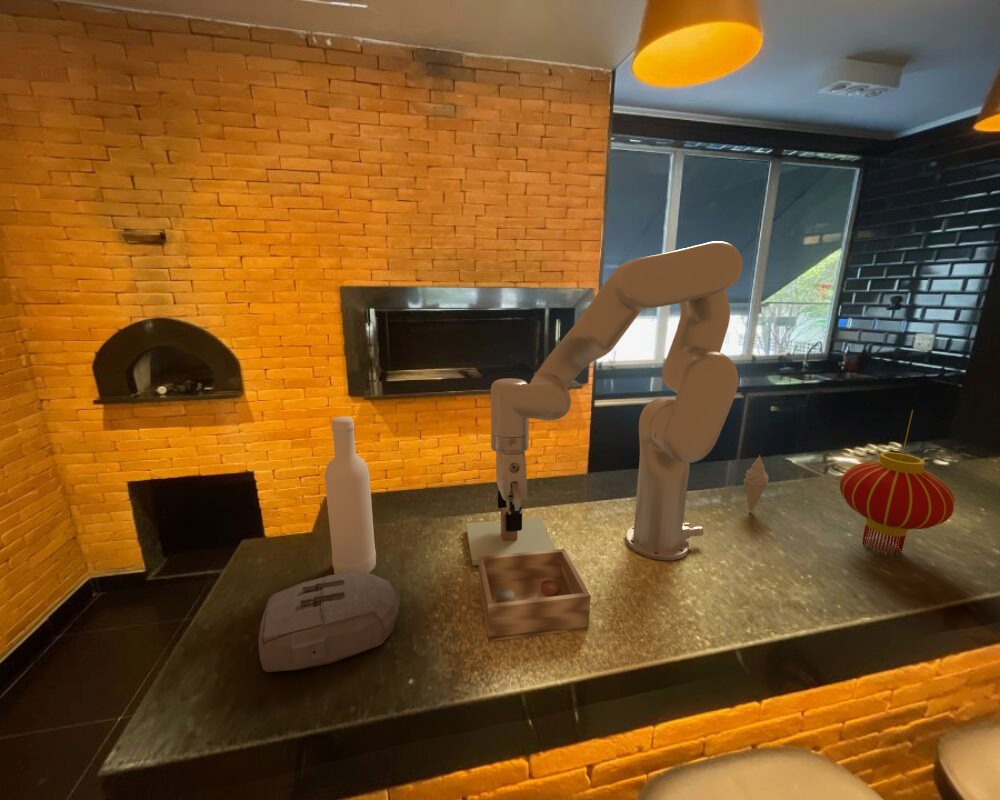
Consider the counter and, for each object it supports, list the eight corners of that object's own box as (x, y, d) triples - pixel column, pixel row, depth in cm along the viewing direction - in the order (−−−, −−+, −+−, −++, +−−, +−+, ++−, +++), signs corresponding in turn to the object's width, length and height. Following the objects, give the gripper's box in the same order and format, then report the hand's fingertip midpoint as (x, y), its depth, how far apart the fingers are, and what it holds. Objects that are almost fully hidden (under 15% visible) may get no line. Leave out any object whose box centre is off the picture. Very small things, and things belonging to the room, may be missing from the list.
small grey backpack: (254, 695, 56) (407, 652, 63) (245, 641, 54) (404, 604, 61) (271, 617, 70) (395, 589, 76) (264, 572, 68) (392, 548, 75)
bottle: (332, 560, 84) (318, 415, 78) (373, 551, 87) (362, 411, 81) (334, 585, 77) (318, 427, 70) (379, 574, 80) (367, 422, 73)
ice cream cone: (767, 517, 101) (776, 458, 98) (745, 517, 101) (754, 458, 98) (755, 507, 106) (763, 451, 103) (734, 507, 106) (742, 451, 103)
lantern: (847, 519, 101) (873, 396, 94) (950, 555, 86) (989, 413, 80) (815, 540, 92) (841, 406, 85) (924, 584, 78) (965, 427, 71)
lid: (539, 525, 98) (540, 493, 97) (557, 561, 85) (558, 524, 83) (466, 532, 96) (465, 498, 94) (472, 570, 82) (471, 531, 80)
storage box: (563, 577, 79) (564, 548, 78) (588, 628, 67) (590, 595, 66) (478, 586, 77) (478, 557, 76) (488, 641, 64) (488, 607, 63)
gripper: (538, 454, 77) (536, 539, 81) (519, 427, 94) (518, 498, 98) (498, 457, 76) (498, 542, 80) (485, 428, 93) (486, 501, 97)
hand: (509, 518), depth 89 cm, fingers open, 9 cm apart
